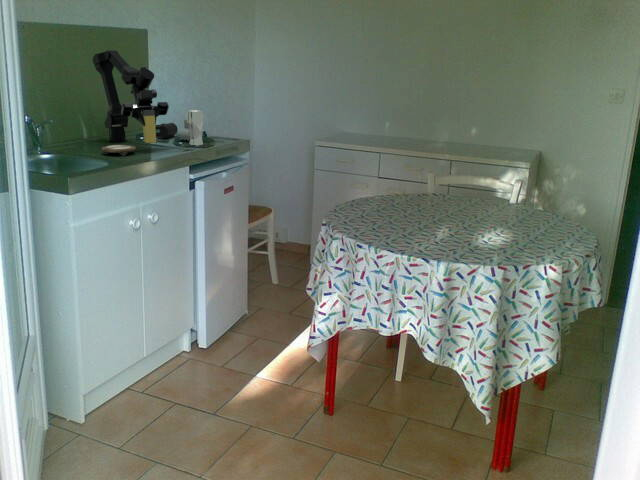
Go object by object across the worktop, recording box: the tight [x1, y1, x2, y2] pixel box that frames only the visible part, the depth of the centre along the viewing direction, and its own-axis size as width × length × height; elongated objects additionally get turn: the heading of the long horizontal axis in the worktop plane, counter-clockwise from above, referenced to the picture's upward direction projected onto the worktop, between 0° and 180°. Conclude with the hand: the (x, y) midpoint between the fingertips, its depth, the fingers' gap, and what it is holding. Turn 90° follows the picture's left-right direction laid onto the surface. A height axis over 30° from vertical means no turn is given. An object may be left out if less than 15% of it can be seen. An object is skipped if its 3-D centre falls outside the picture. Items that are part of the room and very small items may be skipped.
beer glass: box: [186, 109, 204, 147], centre depth 283 cm, size 7×7×15 cm
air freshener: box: [178, 118, 204, 140], centre depth 295 cm, size 11×8×10 cm
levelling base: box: [101, 144, 136, 157], centre depth 260 cm, size 13×13×3 cm
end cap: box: [155, 122, 178, 140], centre depth 302 cm, size 10×7×7 cm
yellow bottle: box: [141, 110, 157, 144], centre depth 264 cm, size 4×4×13 cm
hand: (150, 125), depth 262 cm, fingers closed on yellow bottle, 4 cm apart
